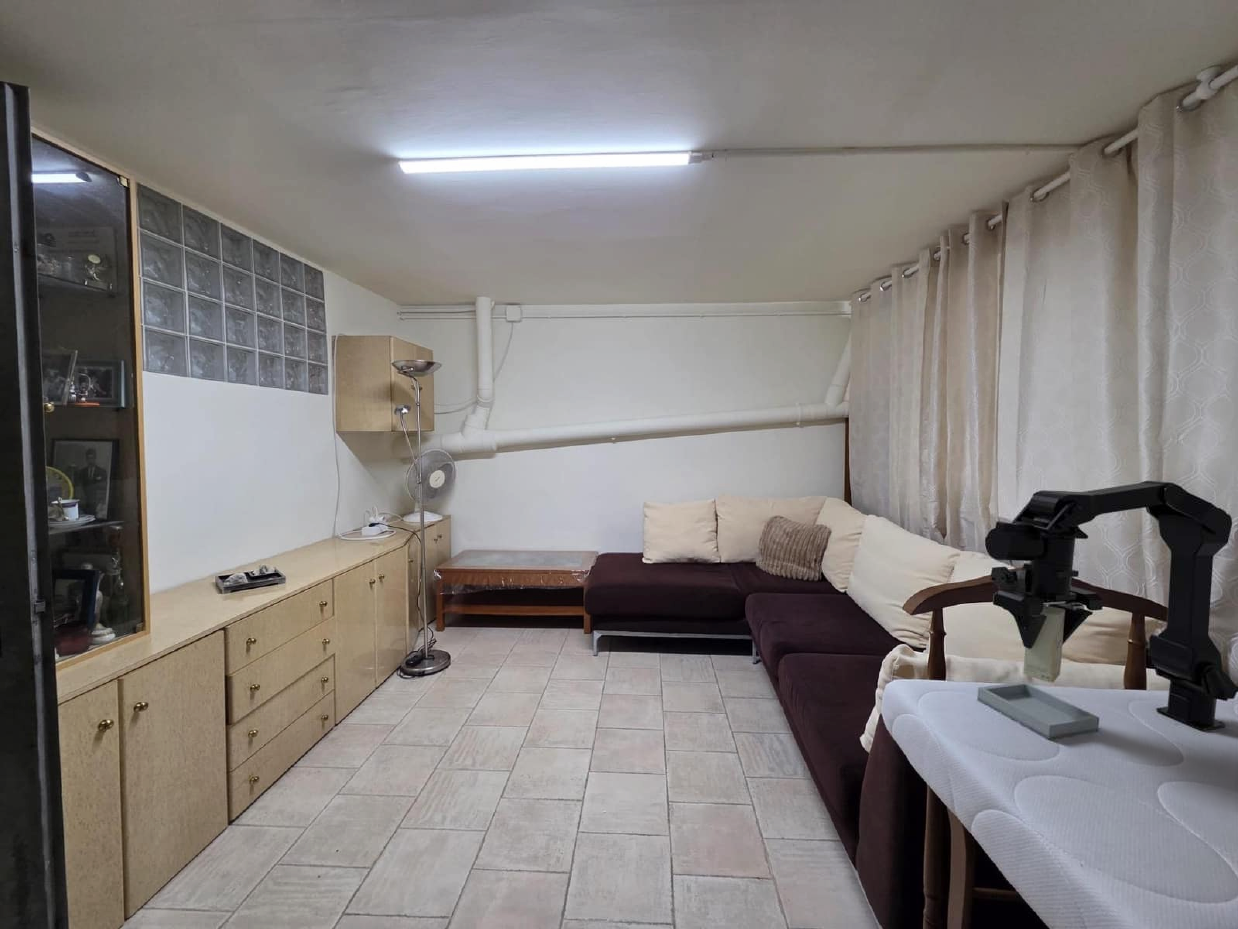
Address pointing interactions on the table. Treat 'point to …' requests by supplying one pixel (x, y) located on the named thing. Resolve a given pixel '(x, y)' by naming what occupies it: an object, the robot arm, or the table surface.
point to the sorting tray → (1038, 710)
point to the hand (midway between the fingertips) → (1043, 646)
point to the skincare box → (1046, 647)
